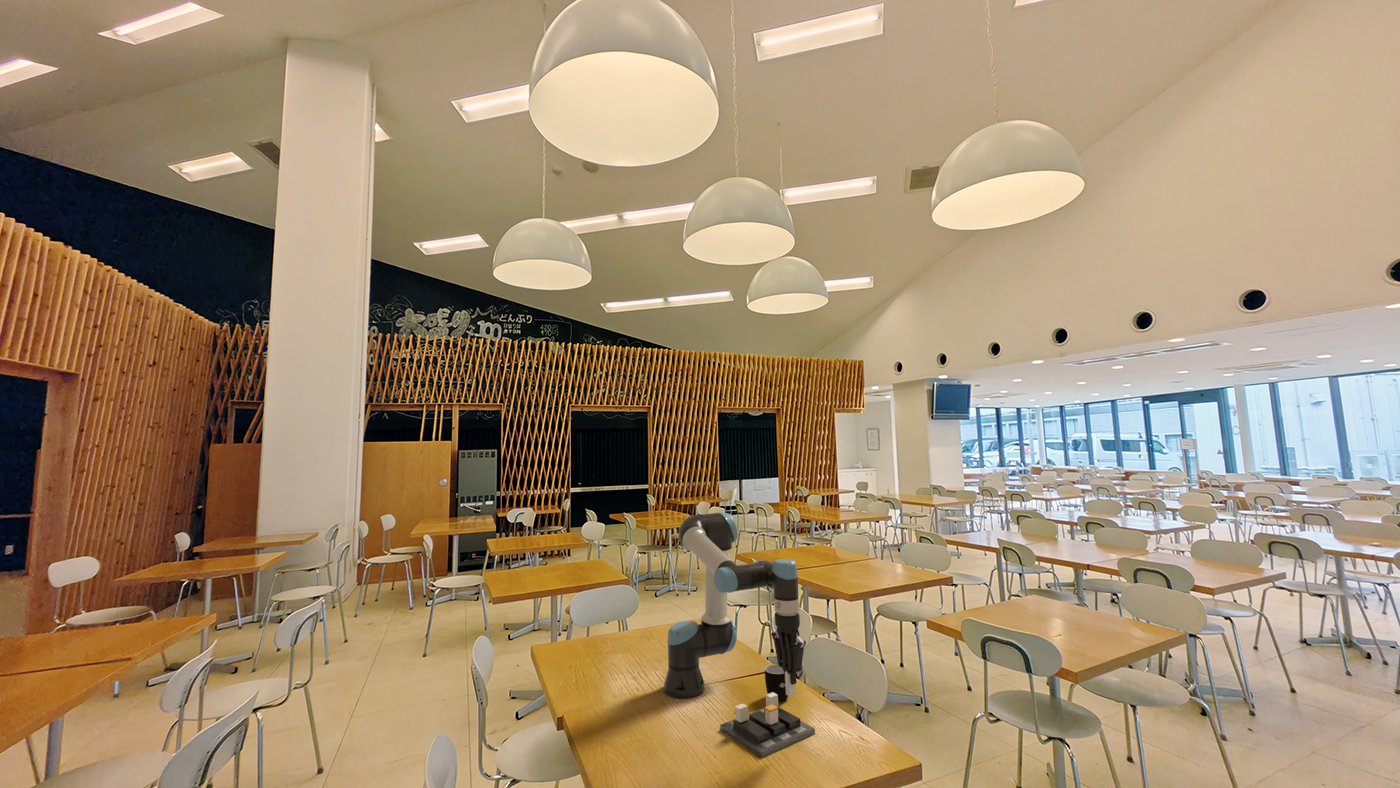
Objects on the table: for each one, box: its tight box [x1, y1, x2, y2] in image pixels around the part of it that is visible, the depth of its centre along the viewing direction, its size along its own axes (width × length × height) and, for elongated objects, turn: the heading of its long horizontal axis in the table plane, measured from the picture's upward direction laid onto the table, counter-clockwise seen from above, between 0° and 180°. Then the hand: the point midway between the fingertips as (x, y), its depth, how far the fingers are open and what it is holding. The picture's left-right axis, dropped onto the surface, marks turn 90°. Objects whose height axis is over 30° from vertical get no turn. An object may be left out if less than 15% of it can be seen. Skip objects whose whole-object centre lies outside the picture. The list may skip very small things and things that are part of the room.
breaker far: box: [765, 692, 779, 707], centre depth 176 cm, size 2×3×4 cm
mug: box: [764, 663, 789, 703], centre depth 192 cm, size 12×9×10 cm
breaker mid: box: [764, 704, 779, 725], centre depth 166 cm, size 2×3×4 cm
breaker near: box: [734, 703, 749, 722], centre depth 168 cm, size 2×3×4 cm
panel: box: [719, 706, 816, 759], centre depth 168 cm, size 20×22×4 cm
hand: (790, 694), depth 160 cm, fingers closed
